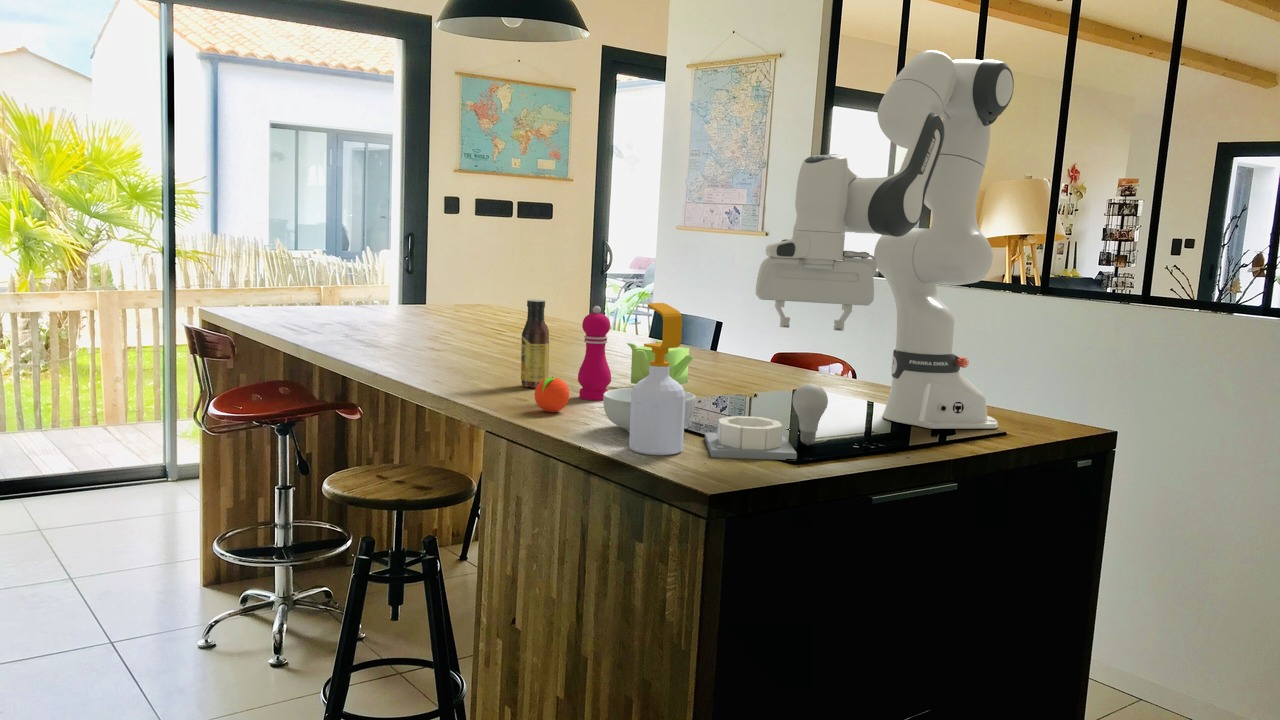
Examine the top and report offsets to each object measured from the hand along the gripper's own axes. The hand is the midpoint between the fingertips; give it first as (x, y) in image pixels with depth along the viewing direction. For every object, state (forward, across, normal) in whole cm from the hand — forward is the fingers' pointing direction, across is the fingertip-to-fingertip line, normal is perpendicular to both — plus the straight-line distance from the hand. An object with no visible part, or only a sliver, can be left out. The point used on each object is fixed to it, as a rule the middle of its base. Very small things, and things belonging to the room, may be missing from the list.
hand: (811, 328), depth 170 cm
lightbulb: (+21, -1, 0) cm, 21 cm away
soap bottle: (+21, +26, +9) cm, 35 cm away
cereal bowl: (+21, +27, -6) cm, 35 cm away
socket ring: (+20, +10, +6) cm, 23 cm away
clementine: (+21, +47, -20) cm, 55 cm away
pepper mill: (+21, +39, -38) cm, 59 cm away
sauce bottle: (+21, +54, -50) cm, 76 cm away
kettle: (+20, +26, -55) cm, 64 cm away
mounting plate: (+21, +10, +6) cm, 24 cm away
